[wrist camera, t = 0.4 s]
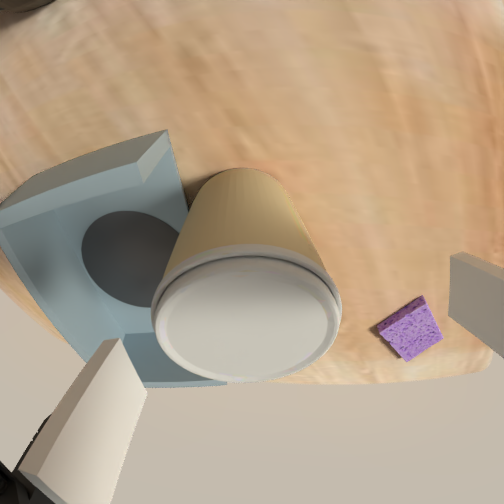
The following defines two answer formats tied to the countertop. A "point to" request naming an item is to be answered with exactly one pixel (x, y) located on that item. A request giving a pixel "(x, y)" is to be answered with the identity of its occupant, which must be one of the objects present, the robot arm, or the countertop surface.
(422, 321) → the sponges
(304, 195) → the countertop surface
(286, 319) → the coffee cup
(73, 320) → the walled barrier
